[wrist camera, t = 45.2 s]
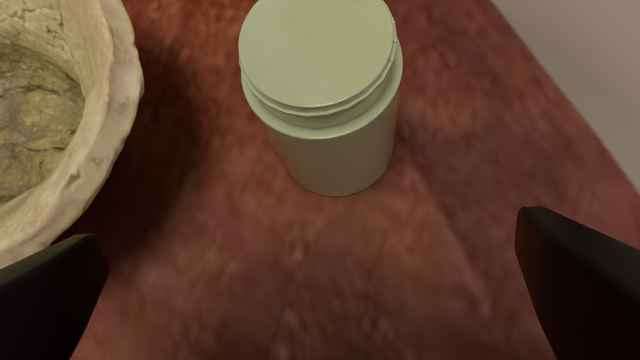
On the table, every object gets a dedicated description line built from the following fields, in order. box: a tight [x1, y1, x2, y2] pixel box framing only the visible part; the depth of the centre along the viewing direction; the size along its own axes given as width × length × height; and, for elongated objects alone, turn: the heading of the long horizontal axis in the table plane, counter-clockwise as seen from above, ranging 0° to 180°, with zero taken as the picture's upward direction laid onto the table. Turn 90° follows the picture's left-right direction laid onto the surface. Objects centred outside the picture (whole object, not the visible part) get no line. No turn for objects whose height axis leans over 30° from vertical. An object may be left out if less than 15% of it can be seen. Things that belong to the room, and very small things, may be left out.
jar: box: [238, 0, 403, 197], centre depth 18 cm, size 6×6×9 cm
